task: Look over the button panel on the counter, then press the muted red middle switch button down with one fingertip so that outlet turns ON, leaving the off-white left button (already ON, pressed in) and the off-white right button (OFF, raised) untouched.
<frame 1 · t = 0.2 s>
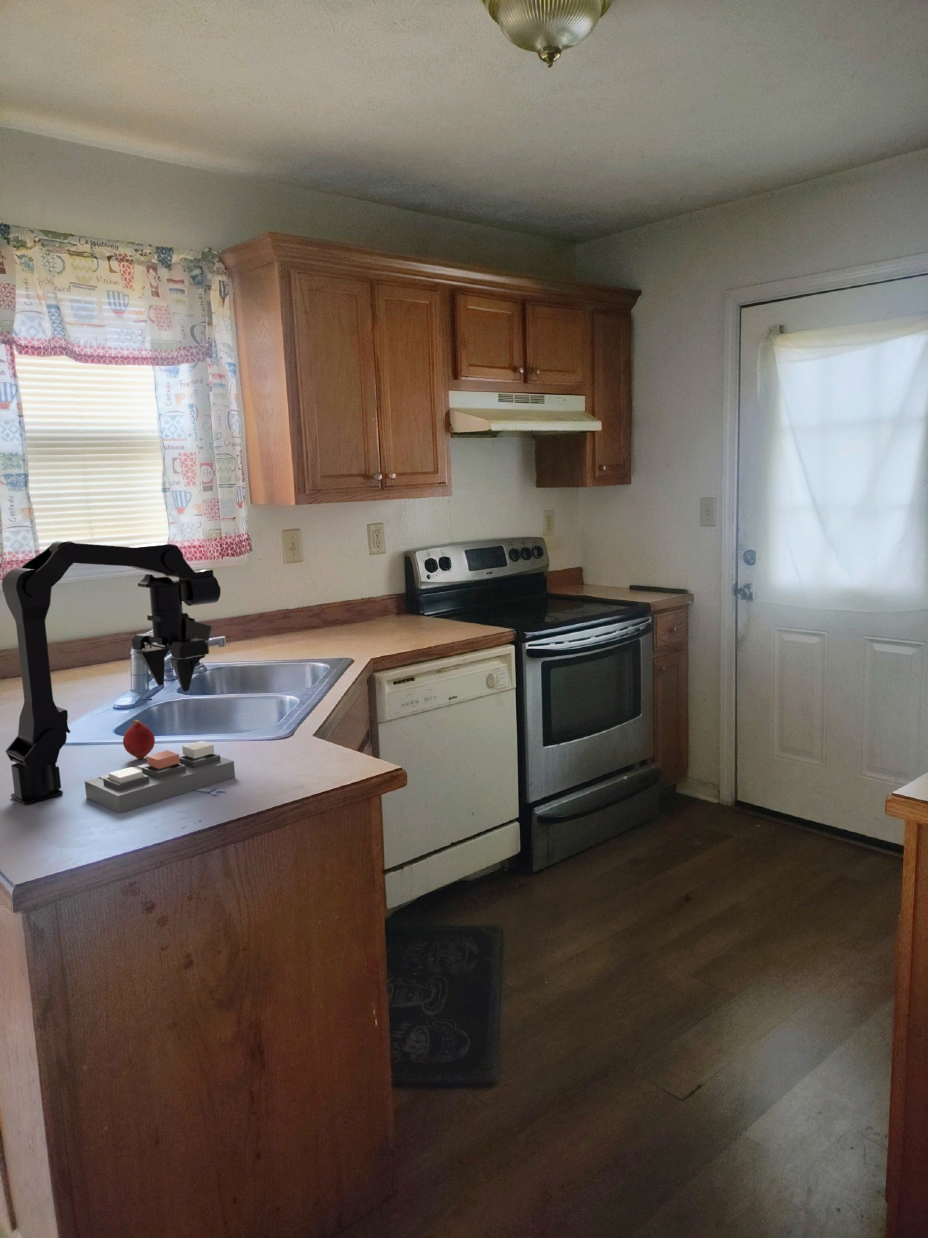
hand: (173, 688, 168), 14 cm above the table, tool pointing down, fingers open, 9 cm apart
button right: (198, 749, 157), point 5 cm above the table, slide at 0.0 cm
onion: (141, 759, 170), on the table
button middle: (163, 759, 152), point 5 cm above the table, slide at 0.0 cm
button left: (125, 776, 147), point 4 cm above the table, slide at 1.2 cm
button panel: (162, 787, 153), on the table
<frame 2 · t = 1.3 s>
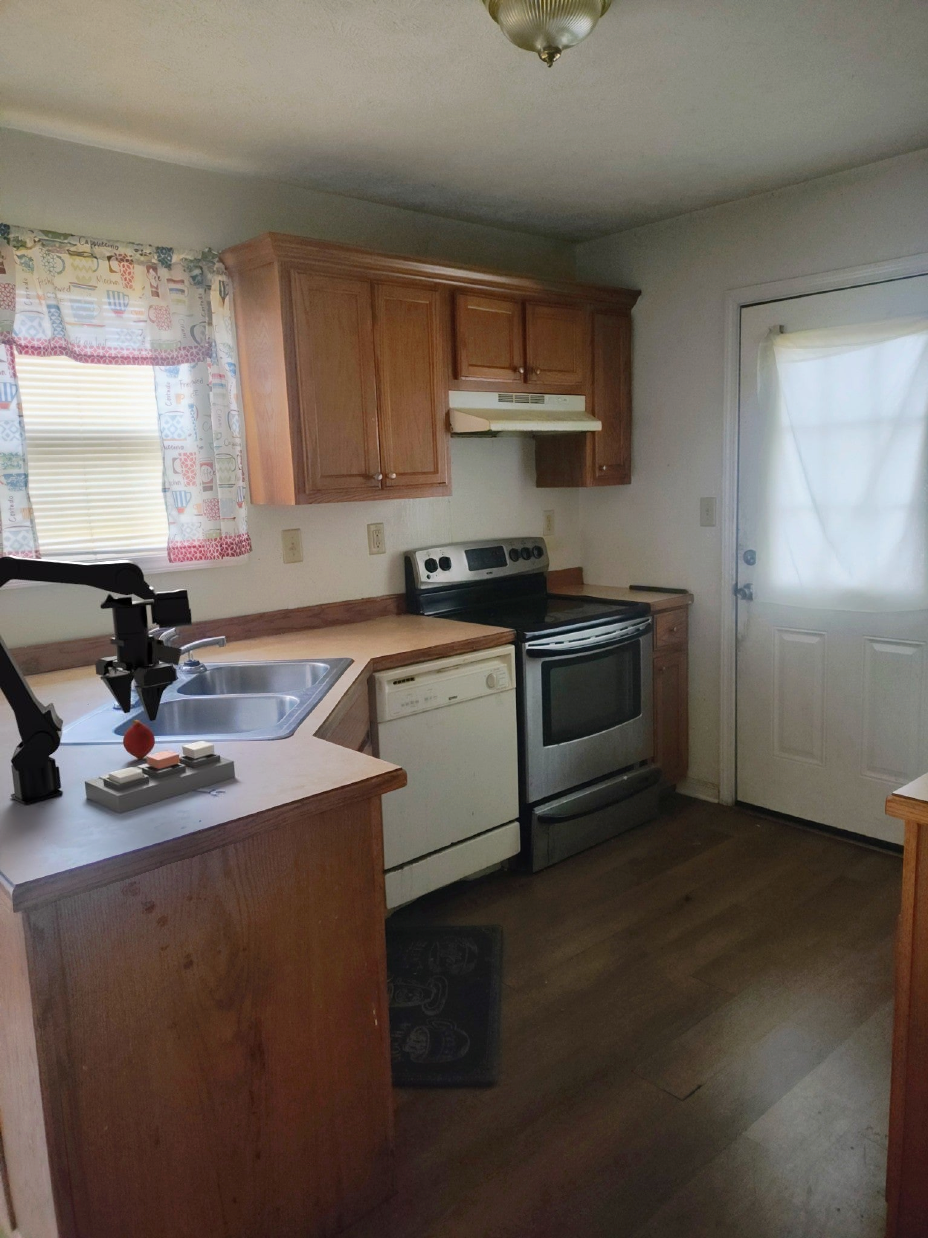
hand: (139, 716, 155), 12 cm above the table, tool pointing down, fingers open, 9 cm apart
nothing on the table moved.
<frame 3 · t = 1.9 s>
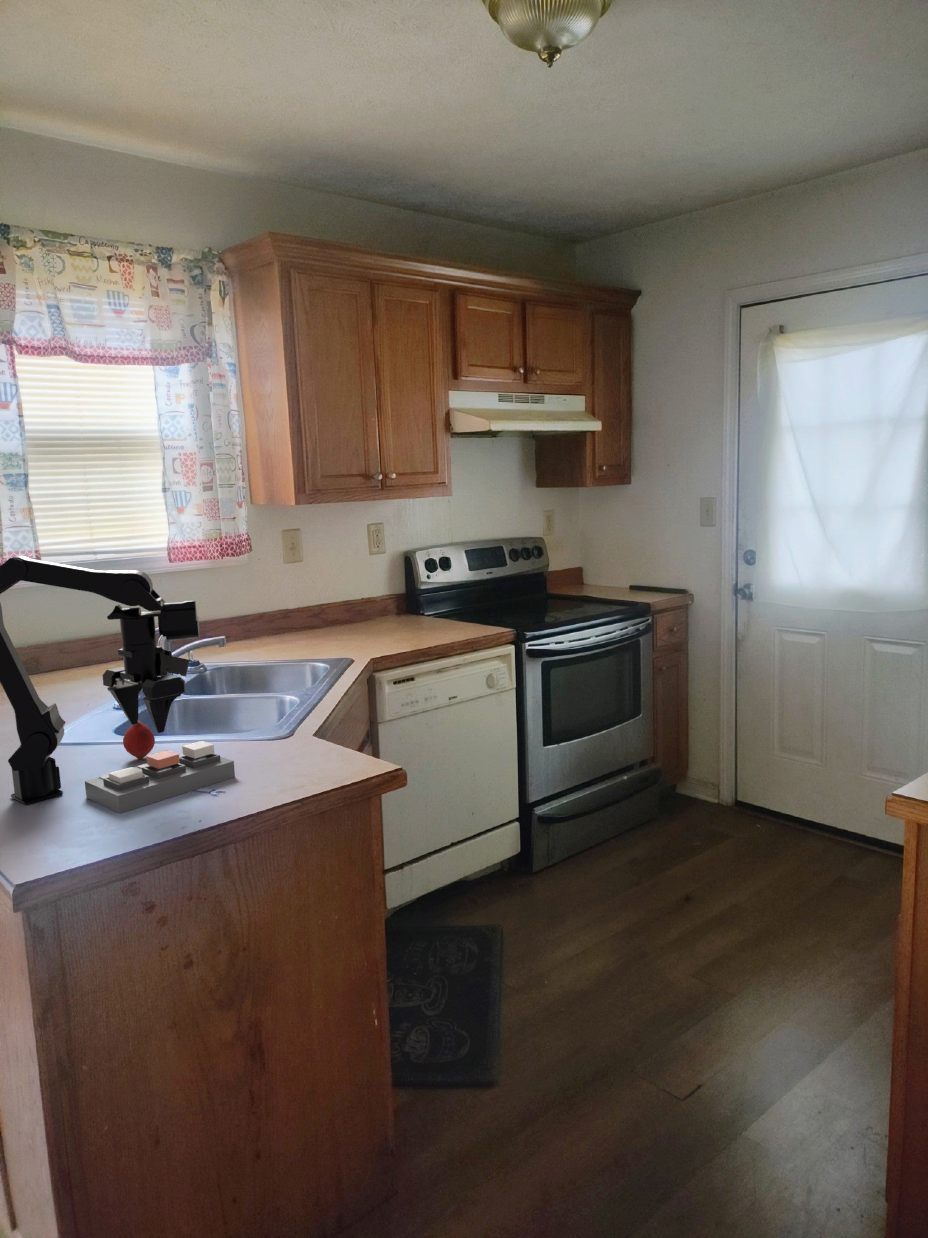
hand: (147, 728, 154), 10 cm above the table, tool pointing down, fingers open, 9 cm apart
nothing on the table moved.
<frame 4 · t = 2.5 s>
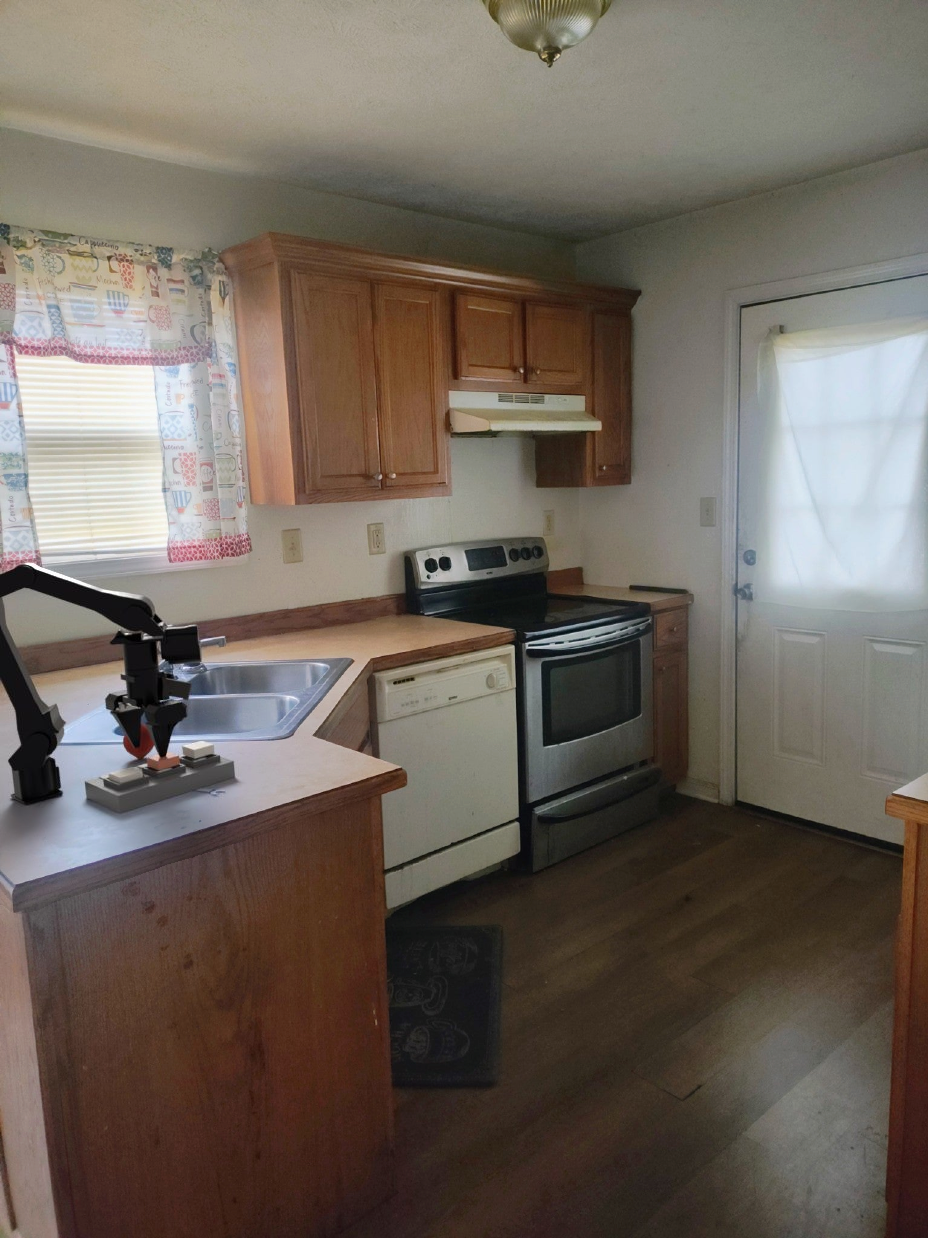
hand: (149, 752, 154), 6 cm above the table, tool pointing down, fingers open, 9 cm apart
button middle: (163, 760, 152), point 5 cm above the table, slide at 0.2 cm, touching gripper
everything else where it was.
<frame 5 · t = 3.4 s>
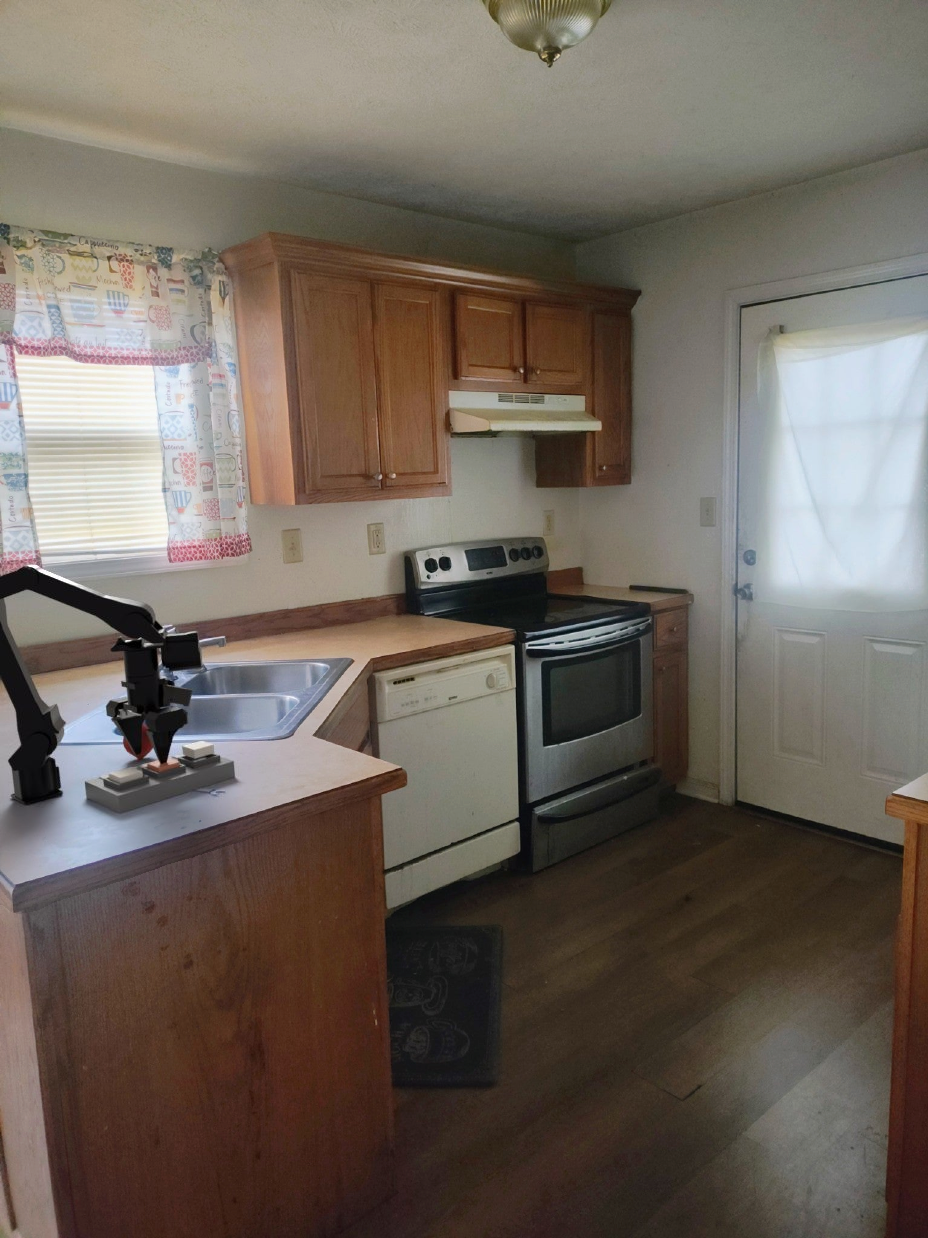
hand: (150, 758, 155), 5 cm above the table, tool pointing down, fingers open, 9 cm apart
button middle: (163, 767, 152), point 4 cm above the table, slide at 1.4 cm, touching gripper
everything else where it was.
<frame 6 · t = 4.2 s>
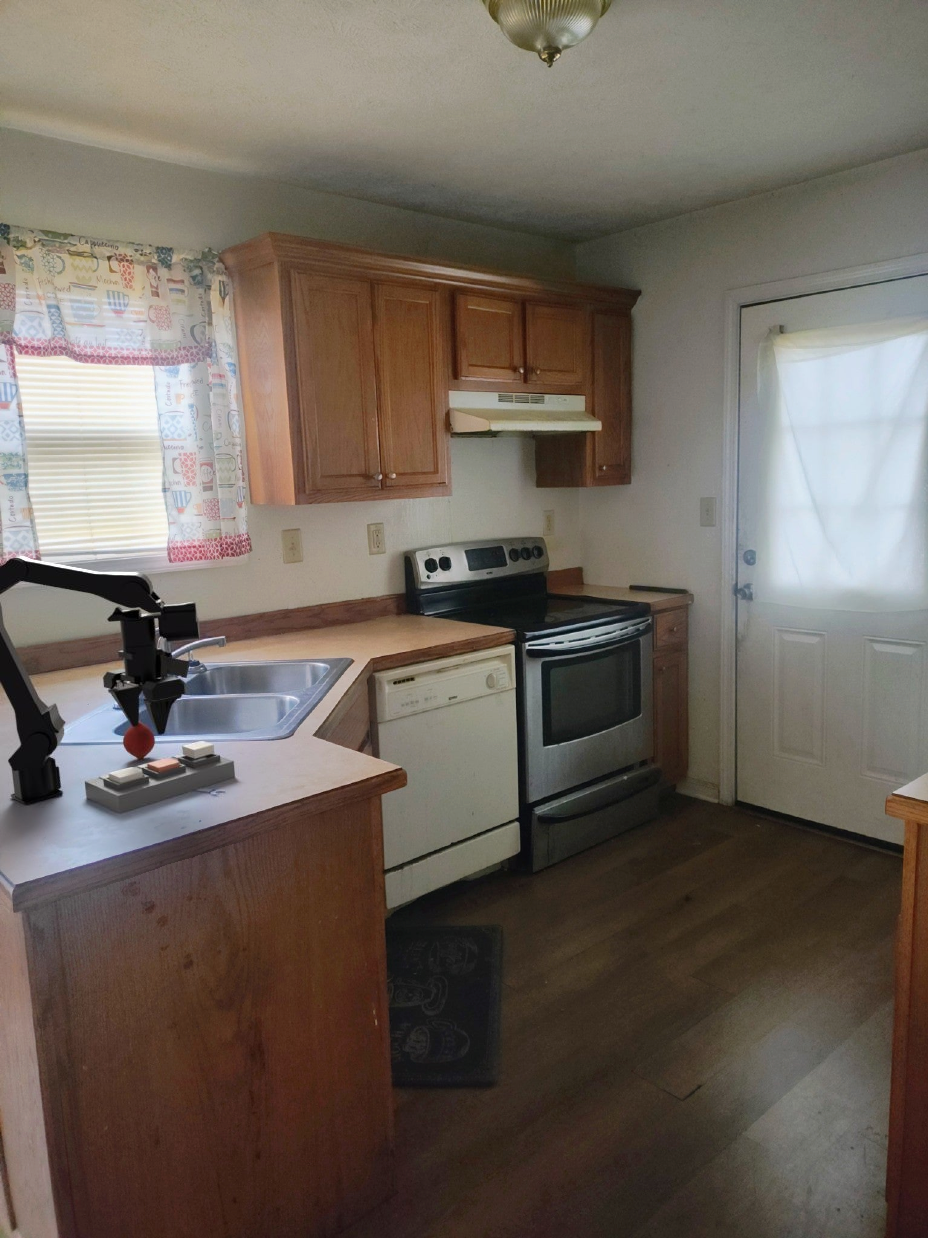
hand: (147, 730, 154), 10 cm above the table, tool pointing down, fingers open, 9 cm apart
button middle: (163, 767, 152), point 4 cm above the table, slide at 1.4 cm
everything else where it was.
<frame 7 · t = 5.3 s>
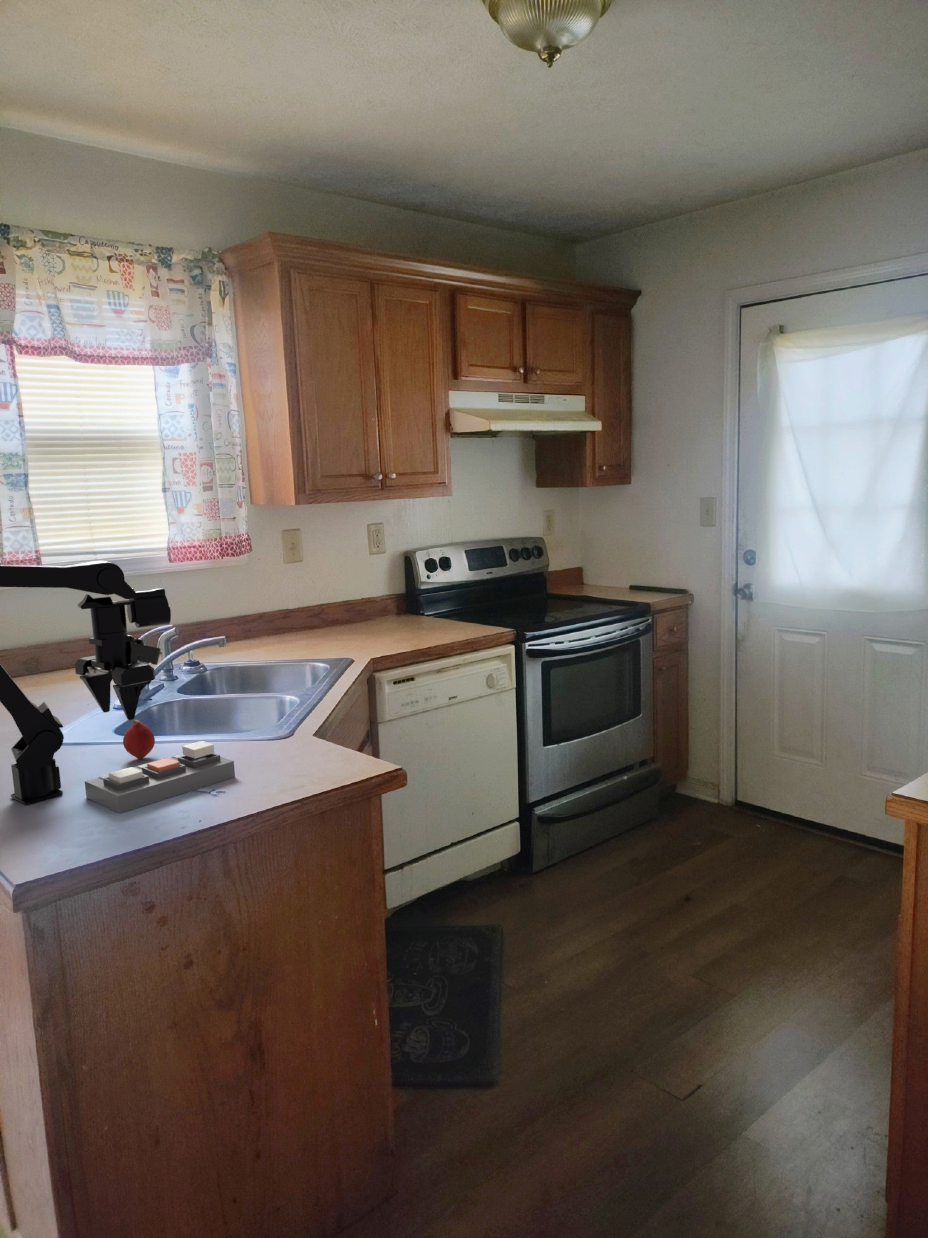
hand: (118, 715, 156), 12 cm above the table, tool pointing down, fingers open, 9 cm apart
nothing on the table moved.
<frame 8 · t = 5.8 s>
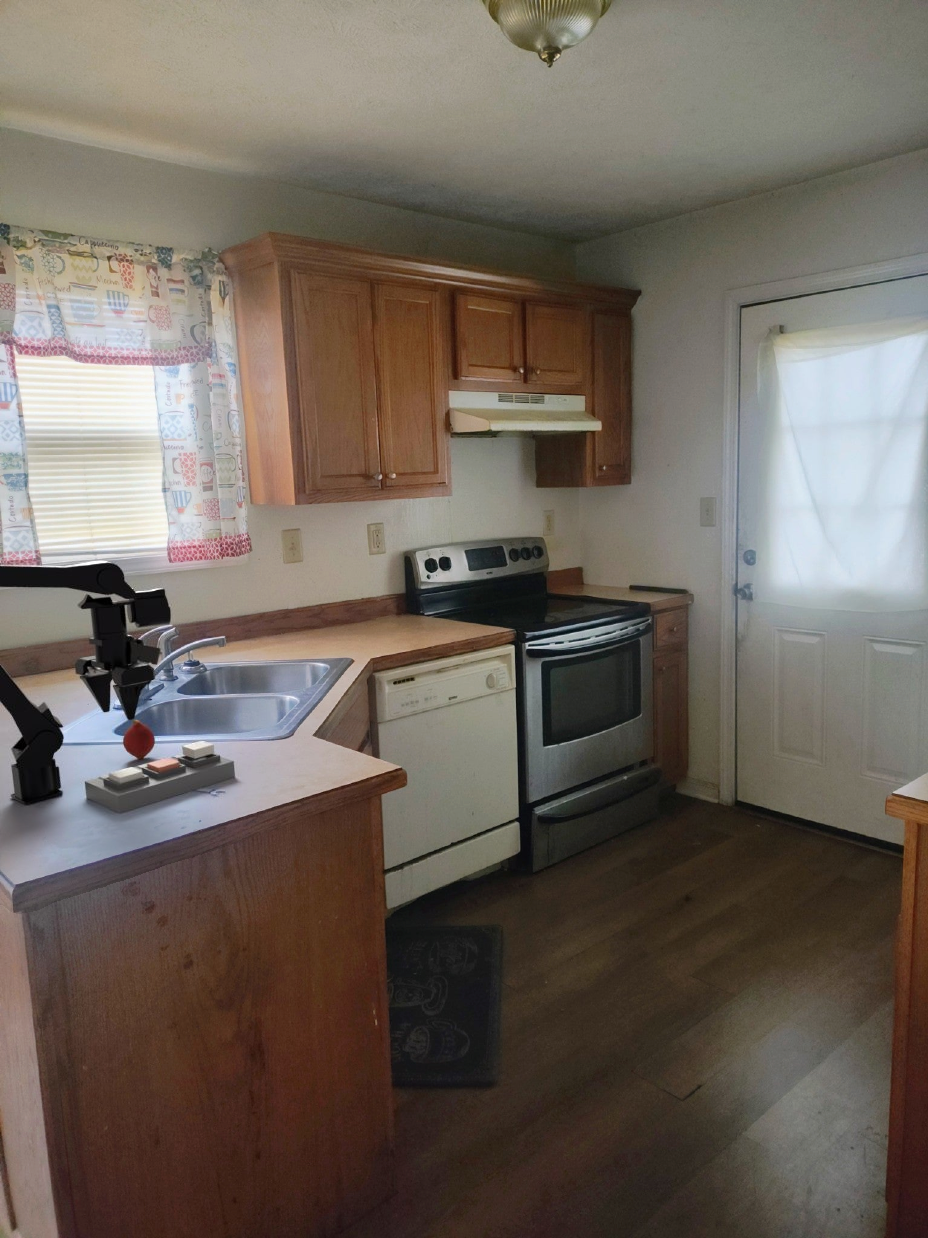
hand: (118, 715, 156), 12 cm above the table, tool pointing down, fingers open, 9 cm apart
nothing on the table moved.
at the end: button middle slide at 1.4 cm; button left slide at 1.2 cm; button right slide at 0.0 cm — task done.
